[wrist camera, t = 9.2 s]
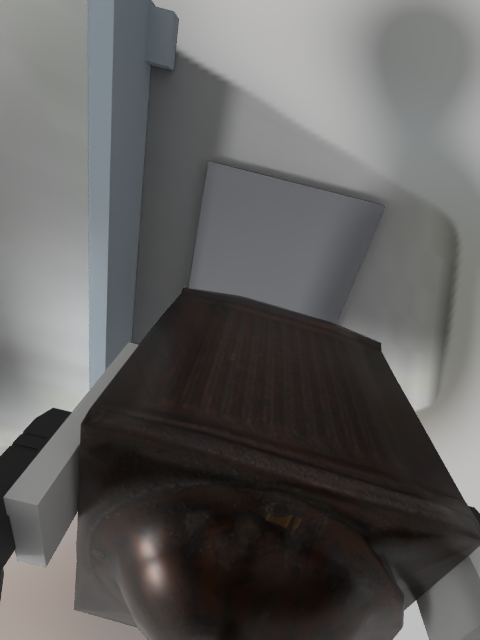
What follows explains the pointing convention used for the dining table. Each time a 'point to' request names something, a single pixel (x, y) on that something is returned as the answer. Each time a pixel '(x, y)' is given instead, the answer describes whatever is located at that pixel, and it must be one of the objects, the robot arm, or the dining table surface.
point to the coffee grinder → (260, 483)
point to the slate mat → (280, 241)
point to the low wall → (118, 159)
